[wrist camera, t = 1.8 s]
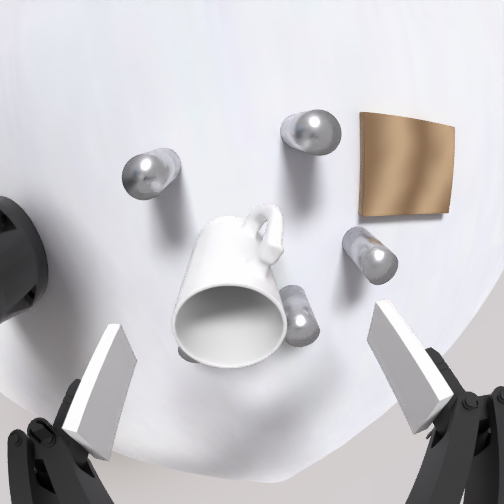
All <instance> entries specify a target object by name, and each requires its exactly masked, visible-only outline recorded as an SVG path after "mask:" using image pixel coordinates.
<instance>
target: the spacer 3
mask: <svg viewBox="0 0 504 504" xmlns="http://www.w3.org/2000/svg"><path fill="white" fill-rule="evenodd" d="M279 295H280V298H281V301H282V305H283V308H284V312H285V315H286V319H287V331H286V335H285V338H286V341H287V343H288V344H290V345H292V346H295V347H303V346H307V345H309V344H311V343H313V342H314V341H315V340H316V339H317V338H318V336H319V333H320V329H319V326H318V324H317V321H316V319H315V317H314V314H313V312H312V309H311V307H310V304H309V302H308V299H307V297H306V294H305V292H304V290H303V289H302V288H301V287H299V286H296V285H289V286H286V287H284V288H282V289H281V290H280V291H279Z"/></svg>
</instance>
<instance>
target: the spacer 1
mask: <svg viewBox="0 0 504 504" xmlns="http://www.w3.org/2000/svg"><path fill="white" fill-rule="evenodd" d="M180 169H181V161H180V158H179V156H178V155H177V153H176V152H174V151H173V150H171V149H168V148H160V149H156V150H153V151H150V152H147V153H143V154H140V155H137V156H135V157H133V158H131V159H130V160H129V161H128V162H127V163H126V165H125V167H124V169H123V172H122V182H123V186H124V188H125V190H126V191H127V193H128V194H129V195H131V196H132V197H134V198H136V199H138V200H149V199H152V198H154V197H155V196H157V195H158V194H159V193H160V192H161V191H162V190H163V189H164V188H165V187H166V186H168V185H169V184H170V183H171V182H172V181H173V180H174V179H175V178H176V177H177V176H178V174H179V172H180Z"/></svg>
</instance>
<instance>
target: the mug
mask: <svg viewBox="0 0 504 504" xmlns="http://www.w3.org/2000/svg"><path fill="white" fill-rule="evenodd" d="M266 221H267V227H266V231H265V234H264V236H263V239H261V237H260V234H259V232H258V231H259V230H260V228H261V227H262V225H263V224H264V223H265V222H266ZM282 241H283V215H282V212H281V210H280V209H279V208H278V207H277V206H275V205H272V204H263V205H256V206H254V207H253V208H252V210H251V211H250V213H249V215H248V216H247V218H246V219H243V218H240V217H236V216H223V217H219V218H216V219H214V220H212V221H210V222H209V223H208V224H206V225H205V226H204V227H203V229H202V230H201V232H200V234H199V236H198V238H197V241H196V243H195V246H194V249H193V252H192V255H191V258H190V261H189V264H188V267H187V270H186V273H185V276H184V279H183V282H182V285H181V289H180V292H179V295H178V298H177V302H176V305H175V310H174V314H173V317H172V332H173V335H174V338H175V340H176V342H177V344H178V345H179V347H180V348H181V349H182V350H183V351H184V352H185V353H186V354H187V355H188V356H190V357H191V358H193V359H194V360H196V361H198V362H200V363H202V364H205V365H208V366H211V367H216V368H226V369H232V368H242V367H247V366H250V365H253V364H256V363H258V362H261V361H262V360H264V359H266V358H267V357H269V356H270V355H272V354H273V353H274V352H275V351H276V350H277V349H278V348H279V346H280V345H281V343H282V342H283V340H284V338H285V335H286V331H287V319H286V315H285V312H284V308H283V305H282V301H281V298H280V295H279V291H278V288H277V285H276V282H275V279H274V276H273V273H272V270H271V267H270V266H271V265H272V264H274V263H275V262H276V261H277V260H278V259H279V257H280V256H281V255H282V253H283V252H284V249H283V246H282Z"/></svg>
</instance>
